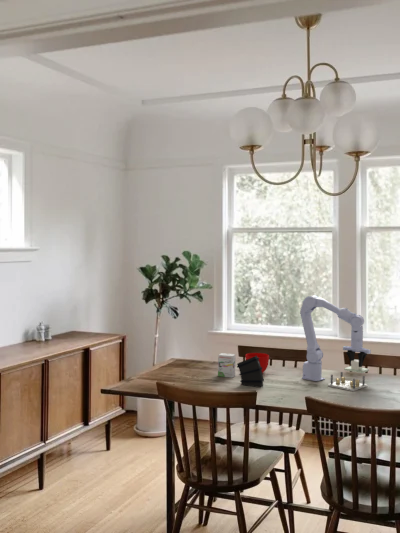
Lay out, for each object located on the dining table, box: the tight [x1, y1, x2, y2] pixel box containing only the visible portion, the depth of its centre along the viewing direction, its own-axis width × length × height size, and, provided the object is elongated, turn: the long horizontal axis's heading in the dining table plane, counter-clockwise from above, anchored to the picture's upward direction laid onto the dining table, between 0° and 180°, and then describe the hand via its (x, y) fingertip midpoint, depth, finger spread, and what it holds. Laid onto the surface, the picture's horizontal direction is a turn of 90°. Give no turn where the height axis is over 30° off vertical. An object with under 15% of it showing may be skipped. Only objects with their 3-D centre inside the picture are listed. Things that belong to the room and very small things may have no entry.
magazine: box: [236, 356, 265, 388], centre depth 285 cm, size 4×13×15 cm, turn 62°
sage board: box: [343, 359, 370, 374], centre depth 290 cm, size 10×7×5 cm
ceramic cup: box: [245, 352, 270, 374], centre depth 316 cm, size 13×17×10 cm
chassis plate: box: [327, 371, 368, 392], centre depth 286 cm, size 14×14×6 cm
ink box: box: [217, 352, 236, 379], centre depth 306 cm, size 8×5×12 cm, turn 69°
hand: (356, 366), depth 290 cm, fingers closed on sage board, 4 cm apart
